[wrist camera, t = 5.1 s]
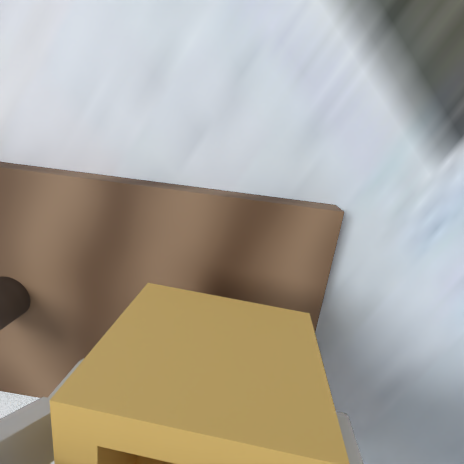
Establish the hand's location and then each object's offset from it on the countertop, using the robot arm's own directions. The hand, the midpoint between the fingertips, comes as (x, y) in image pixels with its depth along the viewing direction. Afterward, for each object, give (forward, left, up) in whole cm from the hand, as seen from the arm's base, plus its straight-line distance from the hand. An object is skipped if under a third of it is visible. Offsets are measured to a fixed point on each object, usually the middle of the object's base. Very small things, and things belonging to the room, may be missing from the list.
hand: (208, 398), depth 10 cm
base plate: (+6, +1, -7) cm, 9 cm away
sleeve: (0, 0, -2) cm, 2 cm away
